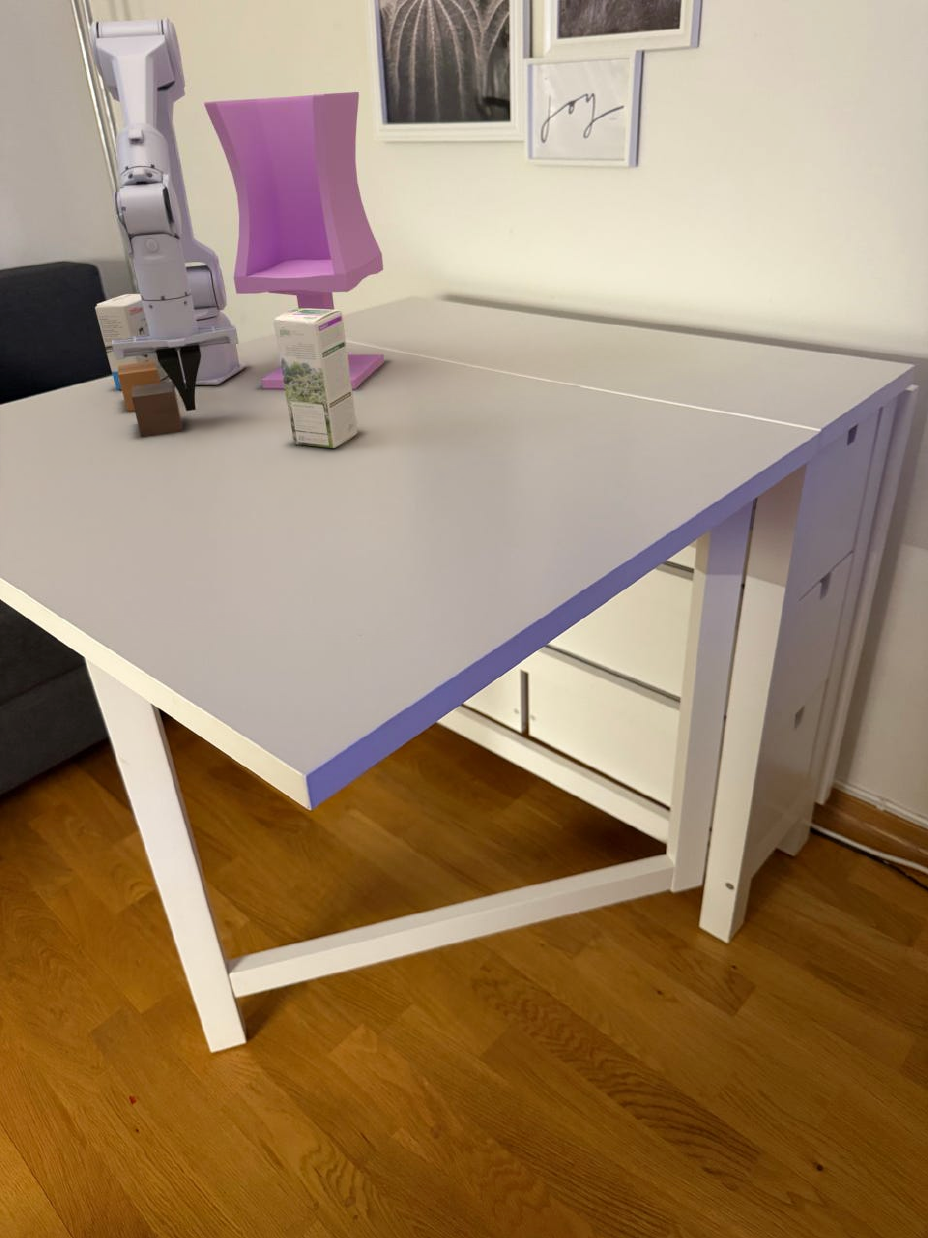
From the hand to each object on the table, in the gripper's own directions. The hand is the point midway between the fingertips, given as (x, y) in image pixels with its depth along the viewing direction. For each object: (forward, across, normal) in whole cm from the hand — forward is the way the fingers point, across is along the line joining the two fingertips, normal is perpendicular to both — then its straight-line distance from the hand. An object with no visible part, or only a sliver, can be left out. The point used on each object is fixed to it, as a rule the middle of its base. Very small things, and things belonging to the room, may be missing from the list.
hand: (190, 408), depth 113 cm
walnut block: (+2, -4, 0) cm, 4 cm away
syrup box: (+2, +14, -14) cm, 20 cm away
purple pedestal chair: (+2, +20, +14) cm, 24 cm away
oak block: (+2, -6, +12) cm, 14 cm away
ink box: (+2, -6, +24) cm, 25 cm away
